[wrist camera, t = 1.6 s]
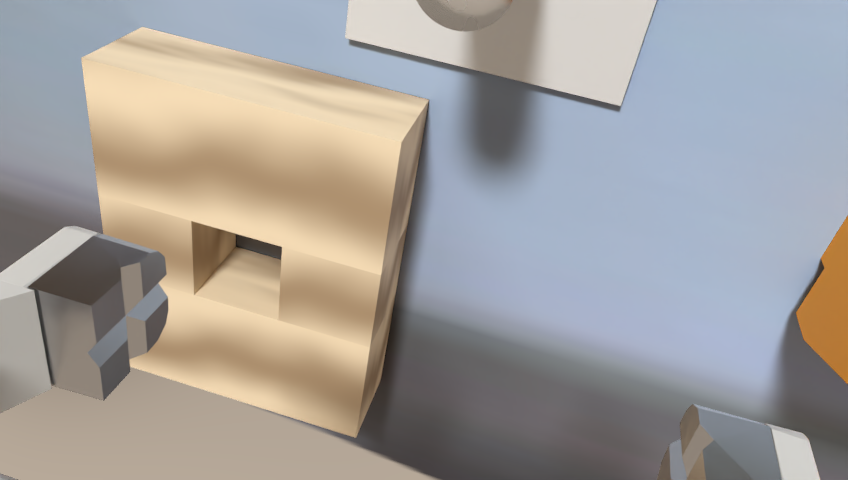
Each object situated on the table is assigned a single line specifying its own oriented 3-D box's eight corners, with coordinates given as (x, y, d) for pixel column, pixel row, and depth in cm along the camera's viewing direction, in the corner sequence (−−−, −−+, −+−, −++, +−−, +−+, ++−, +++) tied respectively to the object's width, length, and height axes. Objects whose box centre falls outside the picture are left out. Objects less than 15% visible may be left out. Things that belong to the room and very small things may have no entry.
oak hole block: (142, 26, 33) (81, 58, 30) (429, 99, 32) (401, 141, 28) (163, 314, 44) (119, 363, 40) (380, 380, 42) (356, 437, 38)
